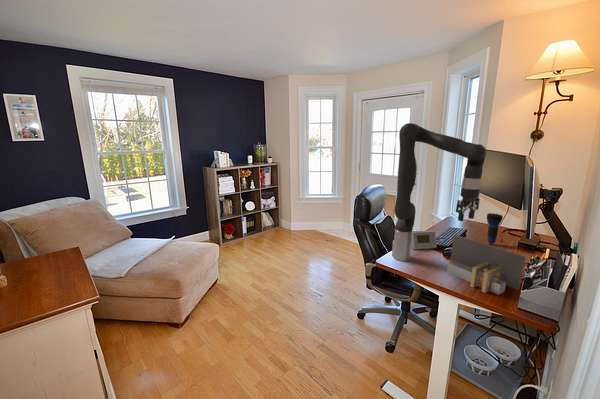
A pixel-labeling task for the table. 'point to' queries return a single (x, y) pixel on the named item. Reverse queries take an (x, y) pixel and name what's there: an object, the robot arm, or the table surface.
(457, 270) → the grey slab
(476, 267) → the beige arch
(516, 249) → the table surface
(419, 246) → the digital clock
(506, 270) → the firebox panel
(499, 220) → the flashlight
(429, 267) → the table surface
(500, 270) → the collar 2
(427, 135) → the robot arm
